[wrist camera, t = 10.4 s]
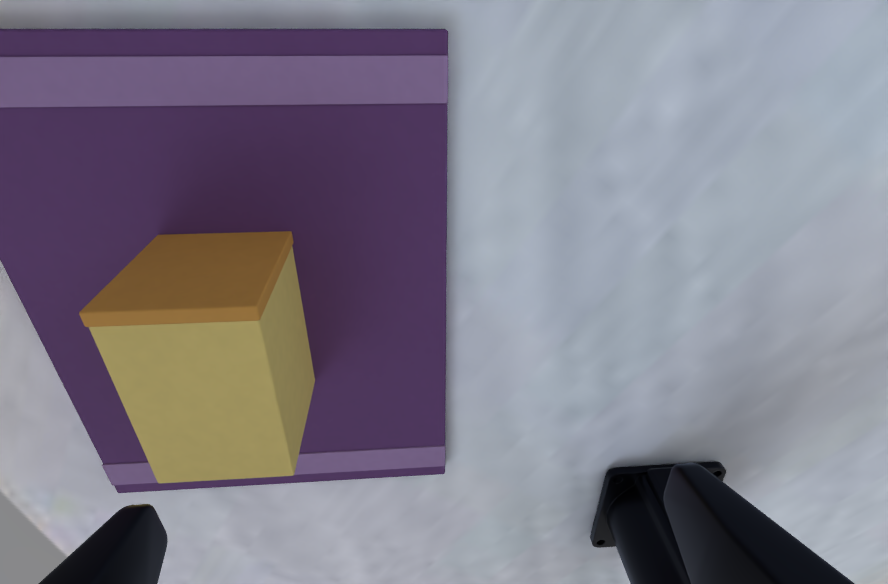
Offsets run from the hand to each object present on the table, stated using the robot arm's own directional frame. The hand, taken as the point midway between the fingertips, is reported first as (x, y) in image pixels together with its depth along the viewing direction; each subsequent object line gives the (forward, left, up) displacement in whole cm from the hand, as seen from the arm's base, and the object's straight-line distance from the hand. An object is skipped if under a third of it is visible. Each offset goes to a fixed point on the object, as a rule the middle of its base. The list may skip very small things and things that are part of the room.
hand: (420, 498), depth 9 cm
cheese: (-3, +7, -11) cm, 13 cm away
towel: (-3, +7, -12) cm, 14 cm away
